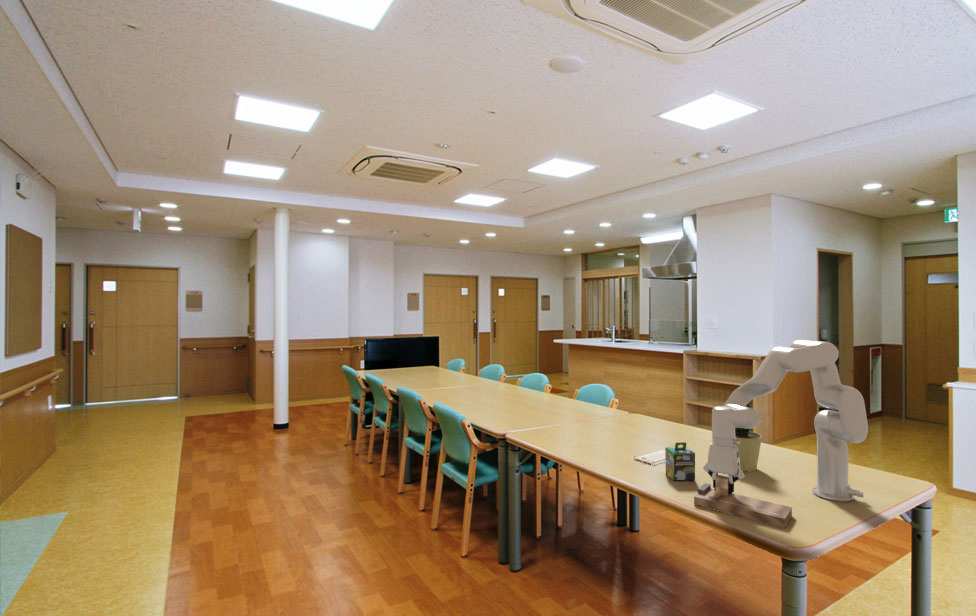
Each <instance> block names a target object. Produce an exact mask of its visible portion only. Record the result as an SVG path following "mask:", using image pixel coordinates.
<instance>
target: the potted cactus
mask: <svg viewBox="0 0 976 616" xmlns="http://www.w3.org/2000/svg"><path fill="white" fill-rule="evenodd" d="M746 407H749V408H753V407H752V406H751V404H749V403H748V404H747V405H746ZM762 437H763V436H762V435H761V434H760V433H758V432H755V431H754V432H753V431H751V429H745V428H735V438H736V440H738V441H739V442H740V443H739V444H736V445H735V446H737V447H738V451H739V458H740V468H741V470H742V471H747V472H746V473H751V472H750V471H753V472H756V471H757V468H758V461H759V456H760V451H761V450H760V449H761V445H762V444H761V443H762ZM755 470H756V471H755Z"/></svg>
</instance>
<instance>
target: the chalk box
mask: <svg viewBox="0 0 976 616" xmlns="http://www.w3.org/2000/svg"><path fill="white" fill-rule="evenodd" d="M665 461H666V462H665V475H667V476H668V477H669V476H670V477H671V478H672V479H673V480H672V479H671V478H670V477H669V478H670V479H671V480H672V481H674V480H675V481H674V482H679V481H678V480H695V481H696V452H694V451H693V450H691V449H690V448H689V447H687V442H680V441H679V442H675V445H674V446H667V447H665ZM676 480H677V481H676Z"/></svg>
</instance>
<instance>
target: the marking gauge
mask: <svg viewBox="0 0 976 616" xmlns="http://www.w3.org/2000/svg"><path fill="white" fill-rule="evenodd" d="M728 483H729V476H728V475H727V474H723V473H718V476H717V477H716V494H715V495H714V496H715V497H716V499H717V500H718V497H719V496H720V495H722V496H726V497H728V496H729V494H728Z"/></svg>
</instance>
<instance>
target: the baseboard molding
mask: <svg viewBox="0 0 976 616" xmlns="http://www.w3.org/2000/svg"><path fill="white" fill-rule="evenodd" d="M633 457H634V458H633V459H636V460H635V461H637V460H639V461H638V462H640V461H643V462H646V463H645V464H647V463H649V464H648V465H650V464H652V465H651V466H653V465H655V464H658V465H660V464H659V463H661V462H662V461H665V449H660V450H657V451H655V452H649V453H646V454H644V455H639V456H636V455H634V456H633ZM643 462H642V463H643ZM661 464H662V463H661ZM655 466H656V465H655Z"/></svg>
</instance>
